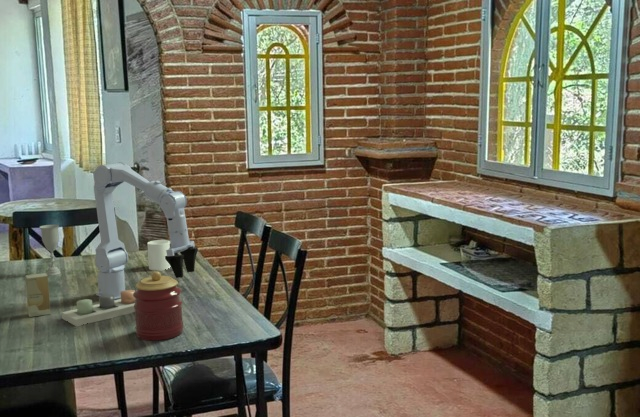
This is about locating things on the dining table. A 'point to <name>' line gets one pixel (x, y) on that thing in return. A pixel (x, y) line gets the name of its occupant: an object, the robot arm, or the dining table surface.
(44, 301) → the skincare box
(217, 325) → the dining table surface
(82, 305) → the sage button
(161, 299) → the canister
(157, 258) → the cup
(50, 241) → the chalice
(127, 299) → the terracotta button
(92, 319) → the panel
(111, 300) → the charcoal button
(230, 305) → the dining table surface
